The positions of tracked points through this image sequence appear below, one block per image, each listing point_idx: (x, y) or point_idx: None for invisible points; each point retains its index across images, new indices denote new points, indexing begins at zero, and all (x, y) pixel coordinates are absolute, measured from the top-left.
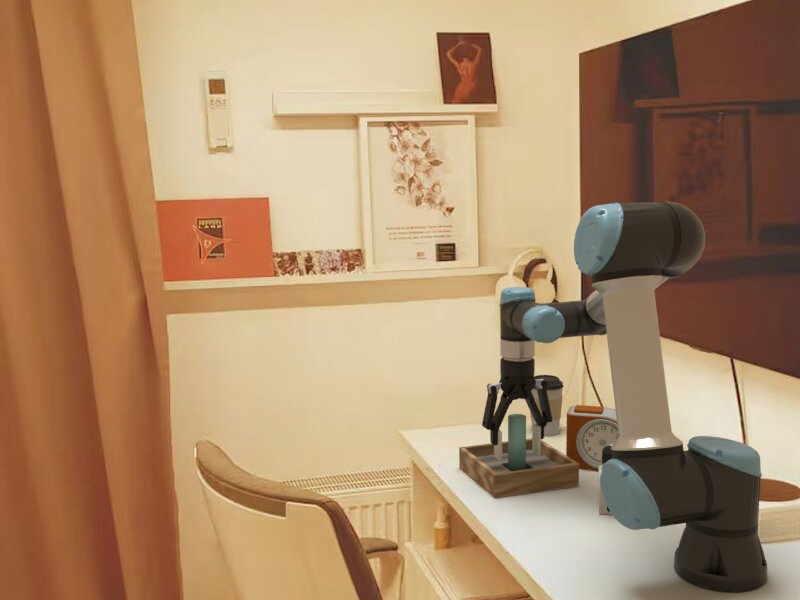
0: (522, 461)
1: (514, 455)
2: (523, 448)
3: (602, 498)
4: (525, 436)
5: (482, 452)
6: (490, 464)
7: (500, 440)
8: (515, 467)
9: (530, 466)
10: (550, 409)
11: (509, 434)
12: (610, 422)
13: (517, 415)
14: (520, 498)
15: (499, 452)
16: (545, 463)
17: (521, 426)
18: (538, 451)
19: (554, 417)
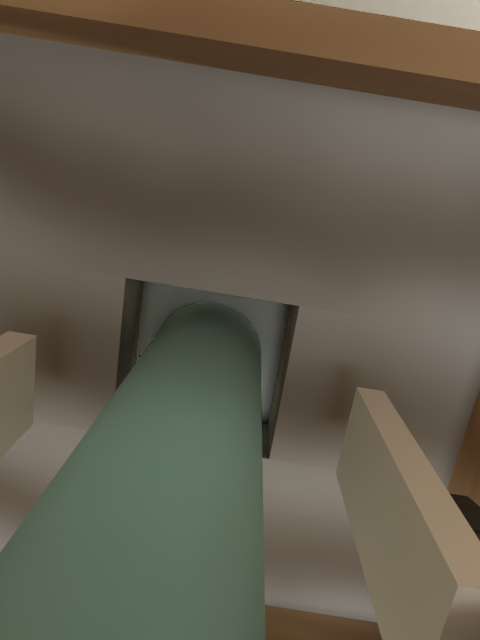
0: (188, 335)
1: (245, 378)
2: (155, 376)
3: None
4: (81, 450)
5: (291, 630)
6: (336, 479)
7: (433, 494)
8: (242, 340)
9: (121, 330)
10: None
11: (262, 559)
12: None
13: None
14: (420, 14)
15: (399, 423)
16: (2, 317)
17: (107, 550)
18: (13, 344)
19: None
